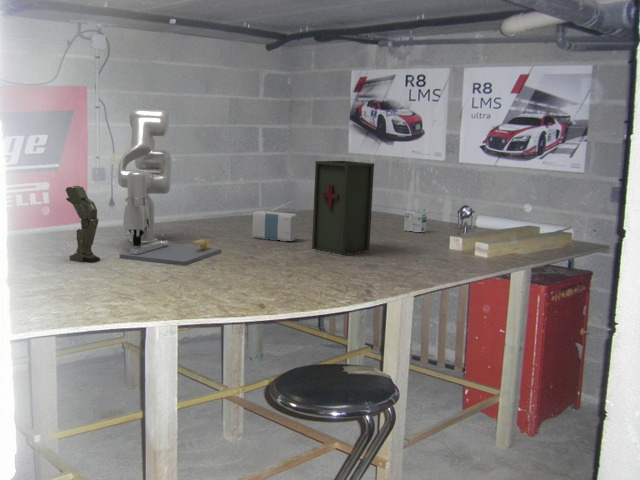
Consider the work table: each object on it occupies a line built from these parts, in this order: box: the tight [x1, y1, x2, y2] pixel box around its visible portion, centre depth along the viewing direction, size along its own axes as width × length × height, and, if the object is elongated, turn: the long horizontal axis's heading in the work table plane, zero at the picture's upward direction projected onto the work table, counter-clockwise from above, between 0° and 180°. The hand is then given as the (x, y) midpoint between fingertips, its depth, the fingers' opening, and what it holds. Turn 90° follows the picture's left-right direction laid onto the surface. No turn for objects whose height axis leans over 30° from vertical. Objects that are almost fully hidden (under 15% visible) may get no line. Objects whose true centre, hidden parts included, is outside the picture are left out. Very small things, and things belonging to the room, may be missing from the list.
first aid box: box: [311, 160, 375, 256], centre depth 304 cm, size 18×18×40 cm
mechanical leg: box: [65, 185, 101, 264], centre depth 261 cm, size 14×7×30 cm, turn 71°
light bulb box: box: [403, 211, 427, 232], centre depth 374 cm, size 11×7×11 cm, turn 58°
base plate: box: [119, 242, 222, 266], centre depth 281 cm, size 29×32×2 cm
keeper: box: [192, 238, 211, 250], centre depth 286 cm, size 3×10×4 cm, turn 162°
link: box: [130, 233, 169, 254], centre depth 282 cm, size 24×5×5 cm, turn 162°
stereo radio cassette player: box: [251, 199, 298, 242], centre depth 328 cm, size 21×8×20 cm, turn 68°
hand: (137, 245), depth 283 cm, fingers closed
